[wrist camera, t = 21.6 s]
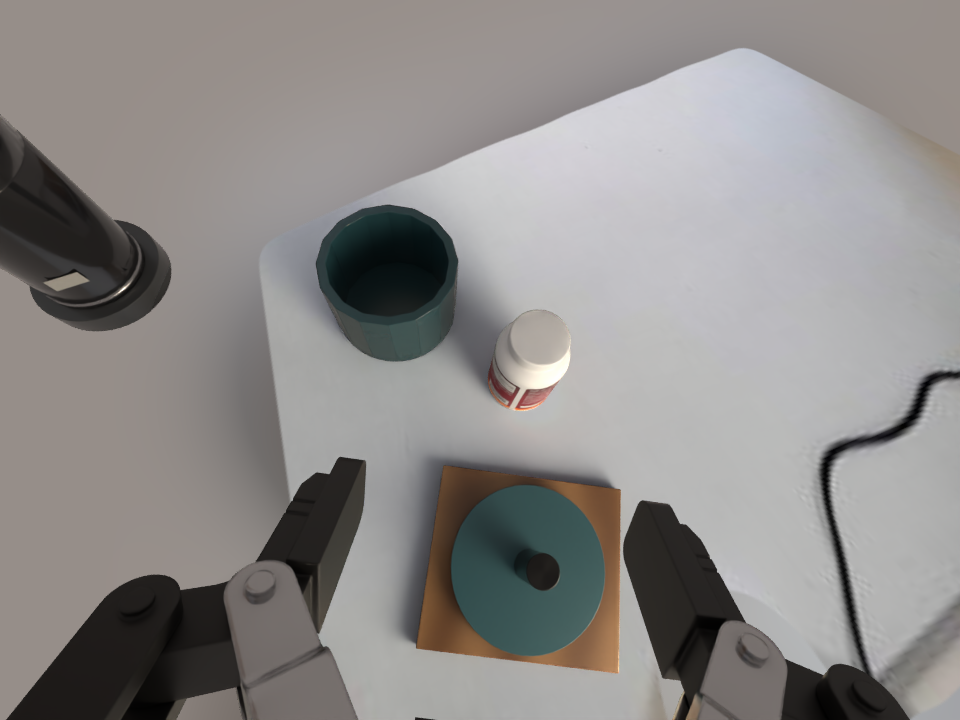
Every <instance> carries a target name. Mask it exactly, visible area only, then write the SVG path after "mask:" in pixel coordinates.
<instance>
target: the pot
mask: <svg viewBox="0 0 960 720" xmlns="http://www.w3.org/2000/svg"><path fill="white" fill-rule="evenodd" d="M316 268H317V274H318V280H319V285H320V289H321V291H322V293H323V294H324V296H325V298H326V300H327V302H328V304H329V306H330V308H331V310H332V312H333V314H334V316H335V318H336V320H337V322H338V324H339V326H340V328H341V329H342V331H343V332H344V333H345V335H346V336H347V338H348V339H349V341H350V342H351V343H352V344H353V345H354V346H355V347H356V348H357V349H359V350H360V351H362V352H363V353H365V354H367V355H369V356H371V357H374V358H377V359H380V360H385V361H405V360H410V359H414V358H417V357H420V356H422V355H424V354H426V353H428V352H429V351H431V350H432V349H434V348H435V347H436V346H437V345H438V344H439V343H440V342H441V341H442V340H443V339H444V338H445V336H446V335H447V333H448V331H449V330H450V327H451V325H452V324H453V318H454V311H455V305H456V290H457V274H458V258H457V255H456V251H455V248H454V245H453V241H452V239H451V237H450V236H449V235H448V234H447V233H446V231H445V230H444V229H443V228H442V227H441V226H440V224H439V223H438V222H437V221H436V220H434V219H432V218H431V217H429V216H427V215H425V214H423V213H421V212H419V211H417V210H415V209H413V208H406V207H400V206H393V205H382V206H376V207H370V208H364V209H361V210H359V211H357V212H355V213H354V214H352V215H350V216H348V217H346V218H344V219H342V220H341V221H339V222H338V223H337V224H336V225H335V226H334V228H333V229H332V230H331V231H330V232H329V233H328V235H327V236H326V237H325V238H324V239H323V241H322V244H321V248H320V251H319V254H318V258H317V261H316Z"/></svg>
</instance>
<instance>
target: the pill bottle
mask: <svg viewBox="0 0 960 720" xmlns="http://www.w3.org/2000/svg"><path fill="white" fill-rule="evenodd" d="M570 342H571V338H570V333H569V330H568V328H567V326H566V324H565V323H564V322H563V320H562V319H561V318H559V317H558V316H557V315H555V314H553V313H551V312H549V311H545V310H530V311H527V312H525V313H523V314H521V315H520V316H519V317H518V318H517V319H516V320H515V321H514V322H512V323H510V324H509V325H508V326H507V327H506V328H504V330H503V331H502V332H501V334H500V336H499V338H498V340H497V343H496V346H495V350H494V354H493V358H492V361H491V365H490V368H489V373H488V385H489V389H490V391H491V394H492V395H493V397H494V398H495V399H496V401H497V402H499V403H500V404H501V405H502V406H504V407H506V408H508V409H511V410H515V411H526V410H530V409H533V408H535V407H537V406H538V405H540V404H541V403H542V402H543V401H544V400H545V399H546V398H547V396H548V395H549V394H550V392H551V391H552V390H553V388H554V387H555V386H556V384H557V383H558V382H559V380H560V379H561V378H562V376H563V375H564V373H565V372H566V370H567V368H568V365H569V362H570Z"/></svg>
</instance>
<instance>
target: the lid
mask: <svg viewBox="0 0 960 720" xmlns="http://www.w3.org/2000/svg"><path fill="white" fill-rule="evenodd" d="M451 579H452V585H453V590H454V594H455V597H456V600H457V603H458V605H459V607H460V610H461V612H462V613H463V615H464V617H465V618H466V620H467V622H468V623H469V624H470V625H471V627H472V628H473V629H474V630H475V631H476V632H477V633H478V634H479V635H480V636H481V637H482V638H483V639H484V640H486V641H487V642H488V643H490V644H491V645H493V646H495V647H496V648H498V649H500V650H503V651H505V652H508V653H511V654H515V655H520V656H540V655H546V654H549V653H553V652H556V651H558V650H560V649H562V648H564V647H566V646H567V645H569V644H570V643H572V642H573V641H574V640H576V639H577V638H578V637H579V636H580V635H581V634H582V633H583V632H584V631H585V630H586V628H587V627H588V626H589V624H590V623H591V621H592V620H593V618H594V616H595V614H596V612H597V610H598V608H599V605H600V602H601V599H602V595H603V590H604V583H605V563H604V556H603V551H602V548H601V544H600V541H599V539H598V536H597V534H596V532H595V530H594V528H593V526H592V524H591V523H590V521H589V520H588V518H587V517H586V515H585V514H584V513H583V512H582V511H581V510H580V509H579V508H578V507H577V506H576V505H575V504H574V503H573V502H572V501H571V500H569V499H568V498H566V497H565V496H563V495H561V494H560V493H558V492H556V491H554V490H551V489H548V488H545V487H541V486H536V485H515V486H511V487H506V488H503V489H501V490H498V491H496V492H494V493H492V494H490V495H488V496H487V497H486V498H484V499H483V500H481V501H480V502H479V503H478V504H477V505H476V506H475V507H474V508H473V509H472V510H471V511H470V513H469V514H468V515H467V516H466V518H465V519H464V521H463V523H462V524H461V526H460V528H459V531H458V533H457V535H456V538H455V541H454V545H453V550H452V555H451Z"/></svg>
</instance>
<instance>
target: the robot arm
mask: <svg viewBox="0 0 960 720" xmlns="http://www.w3.org/2000/svg"><path fill="white" fill-rule="evenodd" d="M144 265H145V255H144V251H143V249H142V247H141V245H140V244H139V242H138V241H137V240H136V239H135V238H134V237H133V236H132V235H130V234H129V233H128V232H127V231H125V230H123V229H122V228H121V227H120V226H119V225H118V224H117V223H116V222H115V221H114V220H113V219H112V218H111V217H110V216H109V215H108V214H107V213H106V212H105V211H103V210H102V209H101V208H100V207H99V206H98V205H97V204H96V203H95V202H94V201H93V200H92V199H91V198H90V197H88V196H87V195H86V194H85V193H84V192H83V191H82V190H81V189H80V188H79V187H78V186H77V185H76V184H75V183H73V182H72V181H71V180H70V179H69V178H68V177H67V176H66V175H65V174H64V173H63V172H62V171H60V169H58V168H57V167H56V166H55V165H54V164H53V163H52V162H51V161H50V160H49V159H48V158H47V157H46V156H44V155H43V154H42V153H41V152H40V151H39V150H38V149H37V148H36V147H35V146H34V145H33V144H31V142H29V141H28V140H27V139H26V138H25V137H24V136H23V135H22V134H21V133H20V132H19V131H18V130H16V129H15V128H14V127H13V126H12V125H11V124H10V123H9V122H8V121H7V120H5V118H3V117H2V116H1V115H0V268H1V269H3V270H5V271H6V272H8V273H9V274H11V275H13V276H15V277H16V278H18V279H20V280H21V281H23V282H25V283H26V284H28V285H30V286H31V287H33V288H35V289H36V290H38V291H40V292H42V293H43V294H45V295H46V296H47V297H48V298H50V299H51V300H53V301H55V302H56V303H58V304H60V305H62V306H65V307H68V308H73V309H92V308H98V307H101V306H105V305H107V304H110V303H112V302H114V301H116V300H118V299H119V298H121V297H122V296H124V295H125V294H126V293H128V292H129V291H130V290H131V289H132V288H133V287H134V286H135V284H136V283H137V282H138V280H139V279H140V277H141V275H142V272H143V270H144ZM365 476H366V461H365V460H358V459H351V458H344V457H339V458H338V459H337V461H336V463H335V465H334V467H333V469H332V471H331V473H330V474H324V473H317V472H316V473H315V474H314V475H313V476H311V477H310V478H309V479H307V480H306V481H305V482H303V483H302V484H301V486H300V488H299V489H298V491H297V493H296V494H295V496H294V498H293V501H291V503H290V505H289V506H288V508H287V510H286V513H284V515H283V517H282V518H281V520H280V522H279V523H278V525H277V527H276V528H275V530H274V532H273V534H272V535H271V537H270V539H269V540H268V542H267V544H266V545H265V547H264V549H263V551H262V552H261V554H260V556H259V557H258V559H257V560H256V562H255V563H252V564H250V565H248V566H246V567H244V568H242V569H241V570H240V571H239V572H237V573H236V574H235V575H234V576H233V577H232V578H231V580H229V581H227V582H224V583H221V584H217V585H211V586H205V587H198V588H192V589H186V590H180V587H179V585H178V583H177V582H176V581H175V580H174V579H172V578H171V577H168V576H165V575H147V576H143V577H139V578H136V579H133V580H131V581H129V582H127V583H125V584H123V585H121V586H119V587H118V588H117V589H115V590H114V591H112V592H111V593H110V594H109V595H107V596H106V598H104V600H103V601H102V602H101V603H100V604H99V606H98V607H97V608H96V609H95V610H94V612H93V613H92V614H91V615H90V617H89V618H88V619H87V620H86V621H85V623H84V624H83V625H82V626H81V628H80V629H79V630H78V631H77V633H76V634H75V635H74V636H73V638H72V639H71V640H70V642H69V643H68V644H67V645H66V646H65V648H64V649H63V650H62V651H61V653H60V654H59V655H58V656H57V657H56V659H55V660H54V661H53V662H52V664H51V665H50V666H49V667H48V669H47V670H46V671H45V672H44V674H43V675H42V676H41V677H40V679H39V680H38V681H37V682H36V683H35V685H34V686H33V687H32V689H31V690H30V691H29V692H28V693H27V695H26V696H25V697H24V698H23V700H22V701H21V702H20V704H19V705H18V706H17V707H16V708H15V710H14V711H13V712H12V713H11V715H10V716H9V717H8V718H7V719H6V720H176V718H177V717H178V715H179V713H180V711H181V709H182V707H183V705H184V703H185V701H186V699H187V698H190V697H195V696H199V695H203V694H208V693H212V692H216V691H221V690H226V689H230V688H234V687H235V688H236V693H237V697H238V702H239V707H240V712H241V717H242V720H358V718H357V715H356V713H355V710H354V708H353V705H352V702H351V700H350V697H349V695H348V692H347V690H346V687H345V684H344V682H343V679H342V677H341V674H340V672H339V669H338V666H337V664H336V661H335V659H334V656H333V654H332V652H331V651H330V649H329V648H328V647H327V646H326V647H323V646H322V644H321V642H320V640H319V637H318V635H317V633H318V634H319V633H320V630H321V628H322V625H323V622H324V619H325V617H326V614H327V611H328V608H329V606H330V603H331V600H332V597H333V595H334V592H335V589H336V586H337V584H338V581H339V578H340V576H341V573H342V570H343V567H344V565H345V562H346V559H347V556H348V554H349V551H350V548H351V545H352V543H353V540H354V537H355V535H356V532H357V529H358V526H359V523H360V520H361V516H362V512H363V506H364V494H365ZM623 555H624V561H625V564H626V567H627V570H628V573H629V576H630V579H631V582H632V586H633V589H634V592H635V595H636V598H637V601H638V604H639V607H640V610H641V613H642V616H643V619H644V622H645V626H646V629H647V632H648V635H649V638H650V641H651V644H652V647H653V650H654V653H655V656H656V659H657V662H658V666H659V669H660V672H661V675H662V678H664V679H673V680H680V681H681V684H682V686H683V689H684V692H683V693H682V695H681V697H680V699H679V702H678V705H677V708H676V711H675V713H674V716H673V719H672V720H910V719H909V718H908V716H907V715H906V713H905V712H904V711H903V709H902V708H901V706H900V705H899V703H898V702H897V701H896V700H895V698H894V697H893V696H892V695H891V694H890V693H889V692H888V691H887V690H886V689H885V688H884V687H883V686H882V685H881V684H880V683H879V682H877V681H876V680H875V679H873V678H872V677H871V676H869V675H867V674H866V673H864V672H863V671H861V670H859V669H857V668H854V667H852V666H848V665H845V664H835V665H833V666H831V667H830V668H829V669H828V671H827V672H826V673H825V674H824V675H822V674H819V673H817V672H814V671H812V670H810V669H807V668H805V667H803V666H800V665H798V664H795V663H793V662H791V661H788V660H787V659H785V658H784V656H783V655H782V653H781V651H780V650H779V648H778V647H777V646H776V645H775V643H774V642H773V641H772V640H771V639H770V638H769V637H768V636H766V635H765V634H764V633H763V632H761V631H760V630H758V629H757V628H755V627H753V626H751V625H749V624H747V623H746V622H745V620H744V618H743V617H742V615H741V613H740V611H739V609H738V607H737V605H736V604H735V602H734V600H733V598H732V596H731V594H730V593H729V591H728V589H727V587H726V585H725V583H724V581H723V580H722V578H721V576H720V574H719V573H717V569H716V567H715V565H714V563H713V561H712V559H710V556H709V554H708V552H707V550H706V548H705V546H704V545H703V543H702V541H701V539H700V538H699V537H698V536H697V535H696V534H695V533H694V532H693V531H692V530H691V529H690V528H689V527H688V526H687V525H684V524H680V523H679V521H678V519H677V517H676V515H675V513H674V511H673V509H672V508H671V506H670V505H669V504H665V503H658V502H651V501H644V500H642V501H640V502H639V504H638V506H637V508H636V511H635V513H634V516H633V518H632V521H631V523H630V526H629V529H628V531H627V534H626V536H625V539H624V545H623ZM415 720H433V719H425V718H416V717H415Z"/></svg>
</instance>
